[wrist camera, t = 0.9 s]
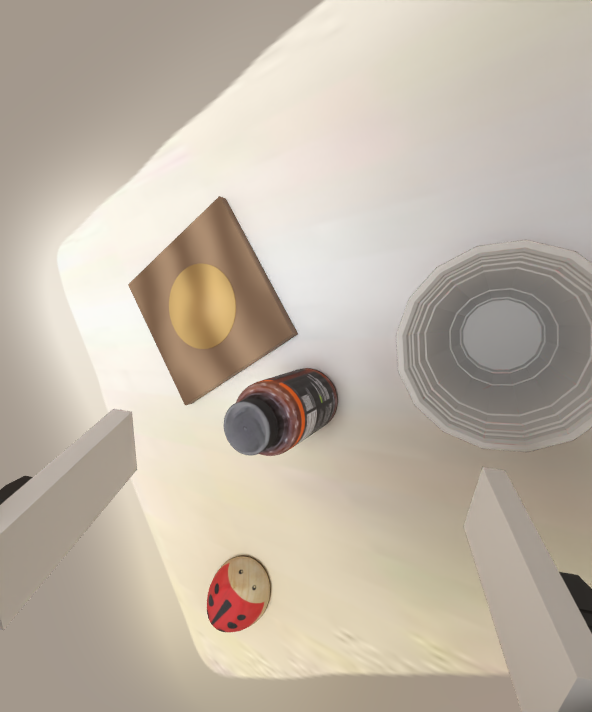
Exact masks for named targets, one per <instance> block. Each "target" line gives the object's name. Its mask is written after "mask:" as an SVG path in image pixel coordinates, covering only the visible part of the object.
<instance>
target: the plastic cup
mask: <svg viewBox="0 0 592 712" xmlns="http://www.w3.org/2000/svg"><path fill="white" fill-rule="evenodd" d="M396 343H397V360H398V372H399V374H400V376H401V378H402V380H403V382H404V384H405V387H406V389H407V391H408V393H409V395H410V397H411V399H412V401H413V403H414V405H415V406H416V407H417V408H418V409H419V410H420V411H421V412H423V413H424V414H425V415H426V416H427V417H428V418H429V419H430V420H431V421H432V422H433V423H434V424H435V425H437V426H438V427H439V428H440V429H441V430H442V431H443V432H445V433H447V434H450V435H452V436H454V437H457V438H459V439H461V440H464V441H466V442H468V443H471V444H473V445H475V446H478V447H480V448H482V449H494V450H507V451H520V452H530V451H534V450H538V449H542V448H546V447H549V446H553V445H557V444H561V443H565V442H568V441H572V440H575V439H576V438H578V437H579V436H580V435H582V434H583V433H584V432H586V431H587V430H589V429H590V428H591V427H592V263H591V262H589V261H588V260H587V259H585V258H584V257H583V256H581V255H580V254H579V253H577V252H576V251H571V250H567V249H563V248H559V247H555V246H550V245H546V244H542V243H538V242H534V241H529V240H520V241H513V242H505V243H497V244H490V245H482V246H477V247H475V248H473V249H471V250H469V251H467V252H465V253H463V254H461V255H459V256H457V257H455V258H454V259H452V260H450V261H448V262H446V263H444V264H442V265H440V266H438V267H436V269H435V270H434V271H433V272H432V273H431V274H430V275H429V276H428V278H427V279H426V280H425V281H424V282H423V283H422V284H421V285H420V287H419V288H418V289H417V290H416V291H415V292H414V293H413V294H412V296H411V297H410V298H409V300H408V302H407V305H406V308H405V311H404V314H403V316H402V319H401V322H400V325H399V328H398V330H397V333H396Z"/></svg>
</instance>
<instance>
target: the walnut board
mask: <svg viewBox="0 0 592 712" xmlns="http://www.w3.org/2000/svg"><path fill="white" fill-rule="evenodd" d="M128 285H129V288H130V290H131V292H132V294H133V296H134V298H135V300H136V302H137V304H138V307H139V309H140V311H141V313H142V315H143V317H144V319H145V321H146V323H147V326H148V328H149V330H150V332H151V334H152V336H153V338H154V340H155V343H156V345H157V347H158V349H159V351H160V353H161V355H162V357H163V359H164V362H165V364H166V366H167V368H168V370H169V372H170V374H171V376H172V378H173V381H174V383H175V385H176V387H177V389H178V391H179V393H180V395H181V398H182V400H183V402H184V404H185V405H188V404H192V403H193V402H195V401H196V400H198V399H199V398H201V397H202V396H204V395H205V394H207V393H208V392H210V391H211V390H213V389H215V388H216V387H218V386H219V385H221V384H222V383H224V382H225V381H227V380H228V379H230V378H231V377H233V376H234V375H236V374H237V373H239V372H241V371H242V370H244V369H245V368H247V367H248V366H250V365H251V364H253V363H254V362H256V361H257V360H259V359H260V358H262V357H263V356H265V355H267V354H268V353H270V352H271V351H273V350H274V349H276V348H277V347H279V346H280V345H282V344H283V343H285V342H286V341H288V340H289V339H291V338H292V337H294V336H296V335H297V334H298V333H297V332H296V330H295V328H294V326H293V324H292V322H291V320H290V318H289V317H288V315H287V313H286V311H285V309H284V307H283V305H282V303H281V302H280V300H279V298H278V296H277V294H276V292H275V290H274V288H273V287H272V285H271V283H270V281H269V279H268V277H267V275H266V273H265V272H264V270H263V268H262V266H261V264H260V262H259V260H258V258H257V257H256V255H255V253H254V251H253V249H252V247H251V245H250V244H249V242H248V240H247V238H246V236H245V234H244V232H243V230H242V229H241V227H240V225H239V223H238V221H237V219H236V217H235V215H234V214H233V212H232V210H231V208H230V206H229V204H228V202H227V200H226V199H225V198H223V197H220V196H219V197H218V198H217V199H216V200H215V201H214V202H213V203H212V204H211V205H210V206H209V207H208V208H207V209H206V210H205V211H204V212H203V213H202V214H201V215H200V216H199V217H198V218H196V219H195V220H194V221H193V222H192V223H191V224H190V225H189V226H188V227H187V228H186V229H185V230H184V231H183V232H182V233H181V234H180V235H179V236H178V237H177V238H176V239H175V240H174V241H173V242H172V243H171V244H170V245H169V246H168V247H167V248H165V249H164V250H163V251H162V252H161V253H160V254H159V255H158V256H157V257H156V258H155V259H154V260H153V261H152V262H151V263H150V264H149V265H148V266H147V267H146V268H145V269H144V270H143V271H142V272H141V273H140V274H139V275H138V276H137V277H136V278H135V279H133V280H132V281H131V282H130V283H129V284H128Z"/></svg>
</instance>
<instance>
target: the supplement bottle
mask: <svg viewBox="0 0 592 712" xmlns="http://www.w3.org/2000/svg"><path fill="white" fill-rule="evenodd" d="M336 408H337V395H336V391H335V388H334V386H333V384H332V383H331V381H330V380H329V379H328V378H327V377H326V376H325V375H324V374H322V373H321V372H319V371H316V370H313V369H308V368H306V369H300V370H295V371H292V372H289V373H285V374H282V375H279V376H275V377H272V378H269V379H265V380H262V381H259V382H256V383H254V384H252V385H250V386H248V387H247V388H246V389H245V390H244V391H243V392H242V393H241V394H240V396H239V397H238V399H237V402H236V403H235V404H233V405H232V406H231V407H230V408H229V409H228V411H227V413H226V415H225V418H224V431H225V435H226V438H227V440H228V442H229V443H230V445H231V446H232V447H233V448H234V449H235V450H236V451H238V452H239V453H242V454H245V455H256V454H261V455H266V456H275V455H279V454H282V453H284V452H286V451H288V450H289V449H291V448H292V447H294V446H295V445H297V444H298V443H300V442H301V441H303V440H304V439H306V438H307V437H309V436H310V435H311V434H313V433H314V432H316V431H317V430H319V429H320V428H322V427H323V426H325V425H326V424H327V423H328V422H329V421H330V420H331V419H332V417H333V416H334V414H335V412H336Z"/></svg>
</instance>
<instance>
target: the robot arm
mask: <svg viewBox="0 0 592 712" xmlns="http://www.w3.org/2000/svg"><path fill="white" fill-rule="evenodd" d="M136 470H137V463H136V452H135V440H134V429H133V418H132V412H130V411H124V410H118V409H113V410H112V411H110V412H109V413H108V414H107V415H106V416H104V417H103V418H102V419H101V420H100V421H99V422H97V423H96V424H95V425H94V426H93V427H92V428H90V429H89V430H88V431H87V432H86V433H85V434H83V435H82V436H81V437H80V438H79V439H77V440H76V441H75V442H74V443H73V444H72V445H70V446H69V447H68V448H67V449H66V450H64V451H63V452H62V453H61V454H60V455H59V456H58V457H56V458H55V459H54V460H53V461H51V462H50V463H49V464H48V465H47V466H46V467H44V468H43V469H42V470H41V471H40V472H39V473H37V474H36V475H35V476H34V477H29V476H23V477H21V478H20V479H17V480H15V481H13V482H11V483H9V484H8V485H6V486H4V487H3V488H2V489H1V490H0V629H2V630H5V628H6V627H7V626H8V625H9V623H10V622H11V621H12V620H13V619H14V617H15V616H16V615H17V614H18V613H19V611H20V610H21V609H22V608H23V607H24V605H25V604H26V603H27V602H28V601H29V599H30V598H31V597H32V596H33V595H34V593H35V592H36V591H37V590H38V588H39V587H40V586H41V585H42V584H43V582H44V581H45V580H46V579H47V577H48V576H49V575H50V574H51V573H52V572H53V570H54V569H55V568H56V567H57V566H58V564H59V563H60V562H61V561H62V559H63V558H64V557H65V556H66V555H67V553H68V552H69V551H70V550H71V549H72V547H73V546H74V545H75V544H76V543H77V541H78V540H79V539H80V538H81V536H82V535H83V534H84V533H85V532H86V530H87V529H88V528H89V527H90V526H91V524H92V523H93V522H94V521H95V520H96V518H97V517H98V516H99V514H100V513H101V512H102V511H103V510H104V509H105V507H106V506H107V505H108V504H109V503H110V501H111V500H112V499H113V498H114V497H115V495H116V494H117V493H118V492H119V491H120V489H121V488H122V487H123V486H124V485H125V483H126V482H127V481H128V480H129V478H130V477H131V476H132V475H133V474H134V472H135V471H136ZM464 529H465V533H466V536H467V539H468V542H469V546H470V549H471V552H472V555H473V558H474V562H475V565H476V568H477V571H478V574H479V578H480V581H481V584H482V587H483V590H484V594H485V597H486V600H487V603H488V606H489V610H490V613H491V616H492V619H493V622H494V626H495V629H496V632H497V635H498V638H499V642H500V645H501V648H502V651H503V654H504V658H505V661H506V664H507V667H508V670H509V674H510V677H511V679H512V683H513V686H514V690H515V693H516V696H517V699H518V702H519V706H520V709H521V712H592V589H591V588H590V587H589V586H588V585H587V584H586V583H585V582H584V581H583V580H582V579H581V578H580V577H579V576H578V575H574V574H568V573H563V572H559V571H558V569H557V567H556V565H555V563H554V562H553V560H552V558H551V556H550V554H549V552H548V550H547V548H546V546H545V545H544V543H543V541H542V539H541V537H540V535H539V533H538V531H537V529H536V528H535V526H534V524H533V522H532V520H531V518H530V516H529V514H528V512H527V511H526V509H525V507H524V505H523V503H522V501H521V499H520V497H519V495H518V494H517V492H516V490H515V488H514V486H513V484H512V482H511V480H510V479H509V477H508V475H507V473H506V471H505V470H499V469H493V468H487V467H482V470H481V473H480V476H479V479H478V482H477V486H476V489H475V492H474V495H473V498H472V501H471V504H470V507H469V510H468V514H467V517H466V520H465V523H464Z"/></svg>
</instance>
